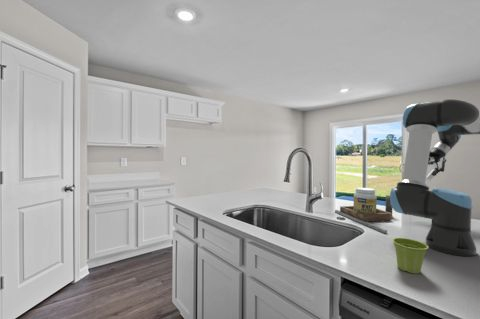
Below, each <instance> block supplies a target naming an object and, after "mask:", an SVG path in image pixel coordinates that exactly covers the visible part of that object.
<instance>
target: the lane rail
mask: <svg viewBox="0 0 480 319" xmlns="http://www.w3.org/2000/svg"><path fill="white" fill-rule="evenodd" d="M334 213H335V214H338V215H340V216H343V217H345V218H347V219H348V220H352V221H355V222H356V223H358V224H361V225H363V226H366V227H368V228H370V229H373V230H375V231H378V232H380V233H382V234H384V235H386V234H388V230H387V229H384V228H382V227H380V226H378V225H375V224H372V223H370V222H369V221H363V220H360V219H358V218H356V217H353V216H351V215H348V214H346V213H343V212H341V211H340V210H338V209H335V210H334Z"/></svg>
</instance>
